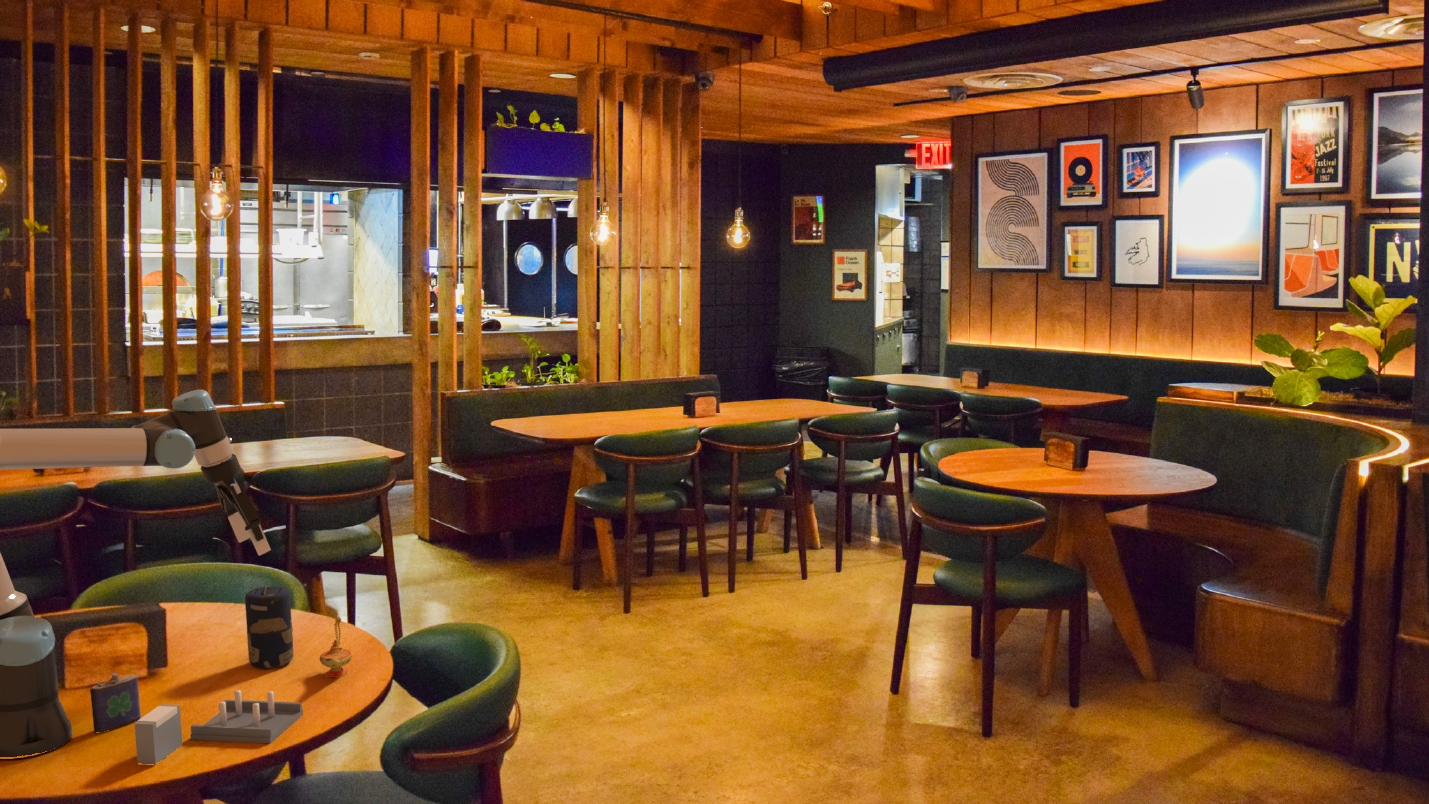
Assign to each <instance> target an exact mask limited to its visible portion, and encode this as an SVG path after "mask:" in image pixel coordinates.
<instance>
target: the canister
mask: <svg viewBox="0 0 1429 804" xmlns="http://www.w3.org/2000/svg"><path fill="white" fill-rule="evenodd" d="M290 595H291V594H290V591H289V589H288V588H286V587H283V586H280V585H279V586H278V585H271V586H270V585H266V586H261V587H257V588H253V589H251V590H248V592H247V593H246V594H245V596H244V600H245V601H244V602H245V603H244V605H245V618H246V636H247V637H246V639H247V651H248V652H247V653H248V661H249V664H250V665H251V666H252V667H254V668H257V669H259V668H260V669H272V668H278V667H281V666H285V665H287V664H289V663H291V661H292V660H293V659H294V641H293V640H294V637H293V631H294V629H293V621H292V620H293V619H292V607H291V606H292V605H291V596H290Z"/></svg>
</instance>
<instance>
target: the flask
mask: <svg viewBox="0 0 1429 804" xmlns="http://www.w3.org/2000/svg"><path fill="white" fill-rule="evenodd" d="M111 675H112V677H111V678H110V679H109V680H108V681H103V683H101V682H98V683H97V684H96V685H93V686H92V687H91V688H90V690H89V692H90V699H91V710H92V711H91V712H92V714H91V715H92V723H93V730H94V733H95V732H104V731H107V730H111V731H114V730H118V729H119V728H122V727H126V726H128V725H131V724H133V723H136V722H137V721H138V720H139V719H141V718H142V714H141V705H140V692H139V679H138V678H139V677H138V676H137V675H133V674H132V675H127V676H125V677H122V678H120V676H121V674H118V673H117V672H112V673H111ZM135 721H136V722H135ZM130 723H131V724H130ZM125 725H126V726H125ZM107 732H108V731H107ZM104 733H105V732H104Z"/></svg>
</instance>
